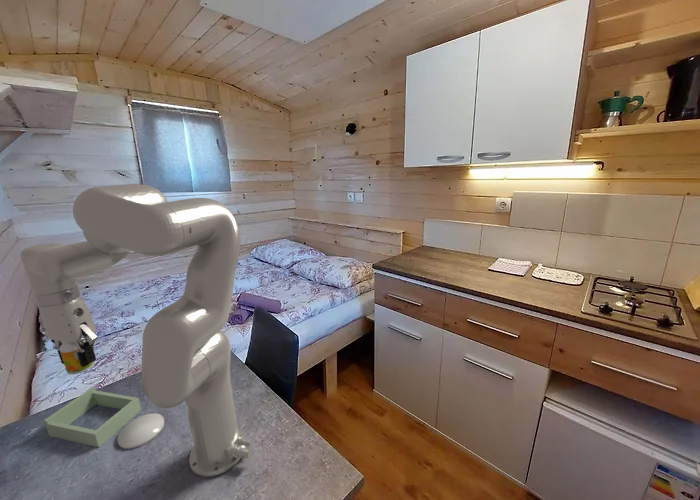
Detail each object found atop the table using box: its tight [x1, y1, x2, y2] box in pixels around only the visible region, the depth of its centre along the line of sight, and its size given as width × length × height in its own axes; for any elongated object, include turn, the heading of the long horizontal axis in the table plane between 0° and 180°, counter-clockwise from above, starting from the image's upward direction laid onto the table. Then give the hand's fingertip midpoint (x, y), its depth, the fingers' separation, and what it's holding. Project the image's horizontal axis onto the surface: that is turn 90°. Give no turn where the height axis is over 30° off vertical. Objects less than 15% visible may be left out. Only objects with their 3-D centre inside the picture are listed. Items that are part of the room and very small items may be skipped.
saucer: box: [117, 413, 165, 450], centre depth 78 cm, size 10×10×1 cm
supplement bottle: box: [59, 335, 95, 376], centre depth 75 cm, size 5×5×10 cm
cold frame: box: [43, 386, 142, 448], centre depth 80 cm, size 16×12×5 cm
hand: (79, 361), depth 76 cm, fingers closed on supplement bottle, 5 cm apart
